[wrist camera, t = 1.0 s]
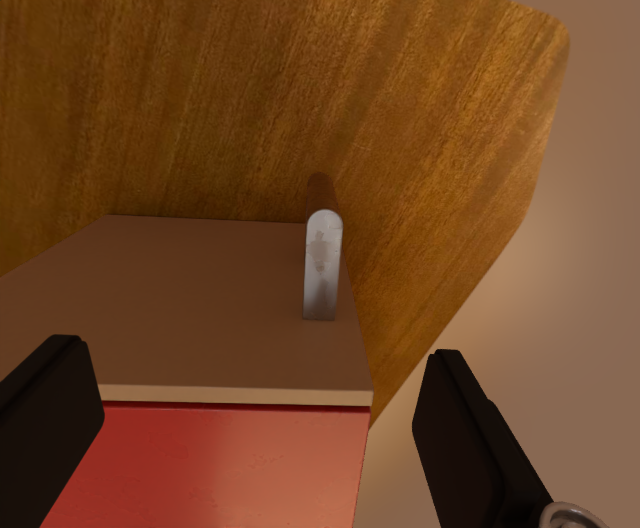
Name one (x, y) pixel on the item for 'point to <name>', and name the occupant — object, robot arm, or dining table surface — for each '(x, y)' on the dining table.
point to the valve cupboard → (218, 467)
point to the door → (199, 308)
